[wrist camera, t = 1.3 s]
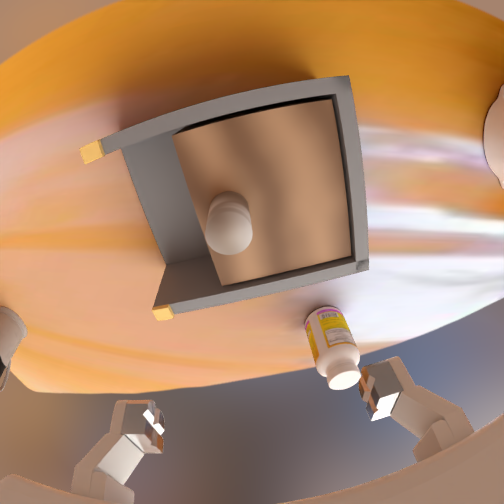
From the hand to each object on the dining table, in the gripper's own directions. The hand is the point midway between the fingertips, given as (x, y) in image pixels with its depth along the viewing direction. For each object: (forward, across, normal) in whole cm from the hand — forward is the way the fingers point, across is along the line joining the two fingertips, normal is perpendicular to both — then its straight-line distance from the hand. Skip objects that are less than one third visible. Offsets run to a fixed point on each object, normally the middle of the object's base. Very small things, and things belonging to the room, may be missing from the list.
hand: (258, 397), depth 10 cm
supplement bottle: (+29, -11, +25) cm, 40 cm away
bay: (+29, -1, 0) cm, 29 cm away
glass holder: (+31, +52, +21) cm, 64 cm away
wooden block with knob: (+27, -4, -1) cm, 27 cm away
